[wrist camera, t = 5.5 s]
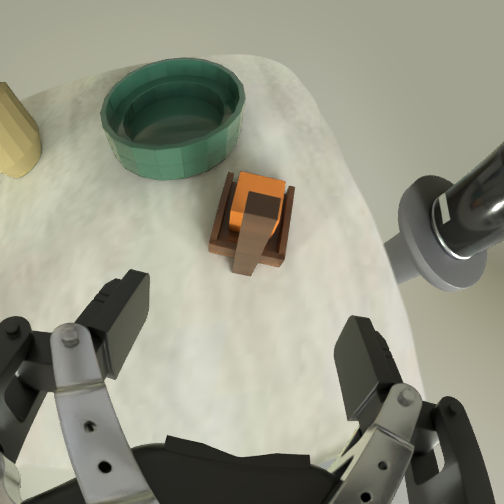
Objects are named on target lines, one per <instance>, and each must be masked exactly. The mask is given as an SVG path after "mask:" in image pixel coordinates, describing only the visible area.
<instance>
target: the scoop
mask: <svg viewBox="0 0 504 504" xmlns="http://www.w3.org/2000/svg"><path fill="white" fill-rule="evenodd" d="M233 178H234V173H231V172H228V174H227V177H226V181H225V184H224V188H223V192H222V195H221V199H220V203H219V206H218V210H217V214H216V218H215V221H214V225H213V229H212V233H211V237H210V241H209V252H210V253H215V254H219V255H224V256H229V257H233V258H234V263H233V268H232V273H237V274H242V275H246V276H251V275H252V273H253V271H254V269H255V267H256V265H257V263H261V264H266V265H271V266H275V267H280V265H281V264H282V263H283V261H284V259H285V253H286V246H287V240H288V233H289V226H290V219H291V212H292V205H293V198H294V190H295V187H293V186H289V187H288V189H287V192H286V194H284V196H283V202H282V208H281V215H280V221H279V223H278V225H277V227H276V229H275V231H274V233H273V235H272V237H271V239H269V237H270V235H271V233H272V231H273V229H274V227H275V224H276V222H277V220H278V215H279V208H280V202H281V198H278V197H274V196H270V195H265V194H261V193H257V192H252V191H249V192H248V196H247V200H246V205H245V209H244V214H243V219H242V223H241V228H240V232H235V231H230V230H229V222H230V213H231V208H232V204H233V199H234V195H235V192H236V188H237V184H238V183H235V182H233Z"/></svg>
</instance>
